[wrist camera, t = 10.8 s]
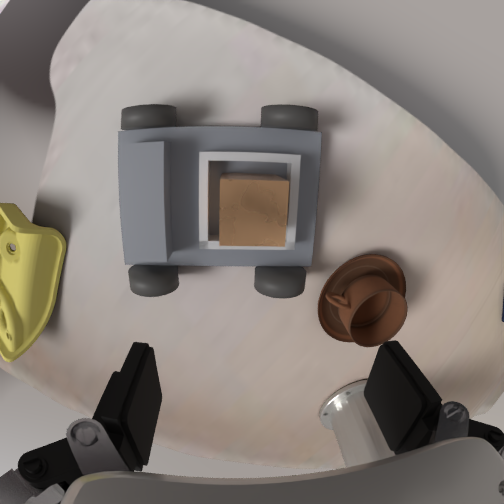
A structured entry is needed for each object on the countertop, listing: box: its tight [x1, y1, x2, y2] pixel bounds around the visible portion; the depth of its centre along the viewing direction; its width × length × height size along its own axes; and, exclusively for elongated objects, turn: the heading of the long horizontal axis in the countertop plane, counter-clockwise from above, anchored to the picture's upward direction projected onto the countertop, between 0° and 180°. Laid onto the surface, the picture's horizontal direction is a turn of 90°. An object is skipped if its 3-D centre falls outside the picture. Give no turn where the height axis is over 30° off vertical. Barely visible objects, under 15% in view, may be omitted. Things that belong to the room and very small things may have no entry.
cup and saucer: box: [318, 254, 407, 347], centre depth 31 cm, size 12×12×6 cm
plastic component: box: [0, 203, 66, 362], centre depth 28 cm, size 20×8×10 cm
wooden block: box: [219, 173, 289, 247], centre depth 25 cm, size 5×5×7 cm
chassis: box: [118, 104, 322, 298], centre depth 27 cm, size 20×18×5 cm
